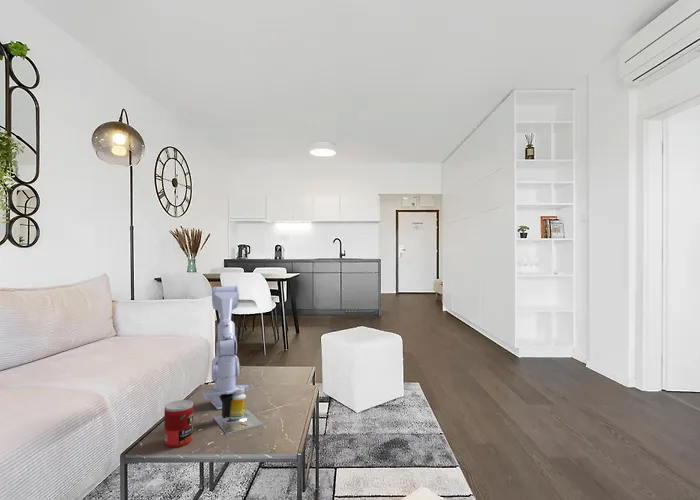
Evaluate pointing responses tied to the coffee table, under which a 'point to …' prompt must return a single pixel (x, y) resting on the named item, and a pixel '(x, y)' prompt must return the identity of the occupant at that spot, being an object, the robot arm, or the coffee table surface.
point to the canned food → (178, 423)
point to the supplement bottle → (237, 404)
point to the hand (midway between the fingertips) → (226, 416)
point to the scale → (238, 422)
